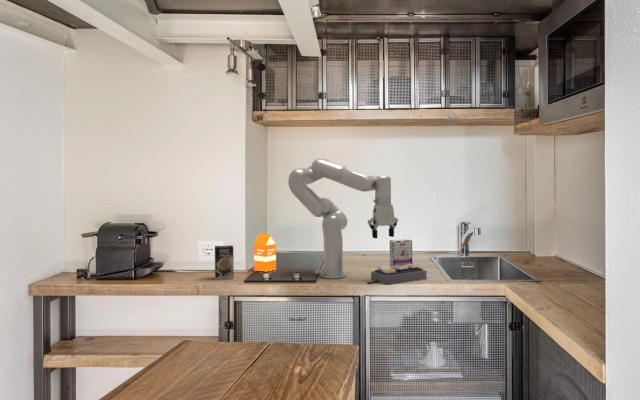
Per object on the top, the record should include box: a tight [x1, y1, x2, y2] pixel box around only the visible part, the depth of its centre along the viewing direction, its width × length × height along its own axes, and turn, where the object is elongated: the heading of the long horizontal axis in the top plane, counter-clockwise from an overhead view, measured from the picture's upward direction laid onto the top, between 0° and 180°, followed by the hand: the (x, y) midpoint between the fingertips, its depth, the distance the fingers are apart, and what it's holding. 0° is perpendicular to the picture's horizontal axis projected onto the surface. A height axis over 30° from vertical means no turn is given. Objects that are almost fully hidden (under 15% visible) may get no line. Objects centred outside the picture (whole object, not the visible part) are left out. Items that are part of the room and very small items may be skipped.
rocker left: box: [376, 264, 396, 273], centre depth 212 cm, size 5×8×1 cm, turn 28°
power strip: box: [366, 267, 428, 286], centre depth 214 cm, size 30×12×5 cm, turn 118°
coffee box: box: [214, 244, 235, 281], centre depth 222 cm, size 9×6×16 cm
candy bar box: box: [389, 238, 413, 267], centre depth 234 cm, size 11×5×16 cm, turn 105°
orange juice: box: [253, 233, 277, 272], centre depth 238 cm, size 8×9×20 cm
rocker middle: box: [391, 266, 408, 269], centre depth 215 cm, size 5×8×1 cm, turn 28°
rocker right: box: [402, 263, 421, 268], centre depth 219 cm, size 5×8×1 cm, turn 28°
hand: (383, 237), depth 214 cm, fingers open, 9 cm apart
